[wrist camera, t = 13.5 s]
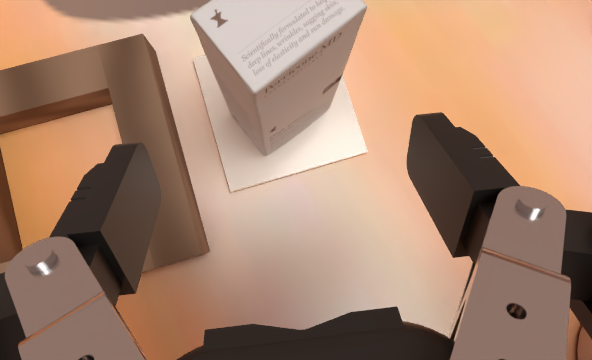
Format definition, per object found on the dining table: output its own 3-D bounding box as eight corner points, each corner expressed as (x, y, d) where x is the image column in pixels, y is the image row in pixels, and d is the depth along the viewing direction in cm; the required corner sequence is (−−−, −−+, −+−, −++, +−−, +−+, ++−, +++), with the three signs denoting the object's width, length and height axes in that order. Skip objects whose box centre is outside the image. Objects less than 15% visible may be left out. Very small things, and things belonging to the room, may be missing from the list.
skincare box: (266, 159, 26) (253, 105, 14) (226, 110, 26) (180, 16, 14) (334, 106, 27) (377, 10, 15) (294, 59, 27) (305, -74, 15)
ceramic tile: (325, 26, 28) (326, 22, 27) (366, 153, 27) (367, 151, 26) (194, 61, 27) (192, 58, 27) (231, 192, 26) (230, 191, 26)
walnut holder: (155, 51, 27) (142, 33, 25) (209, 251, 26) (202, 254, 23) (-56, 105, 26) (-91, 93, 24) (-12, 318, 25) (-45, 328, 22)
